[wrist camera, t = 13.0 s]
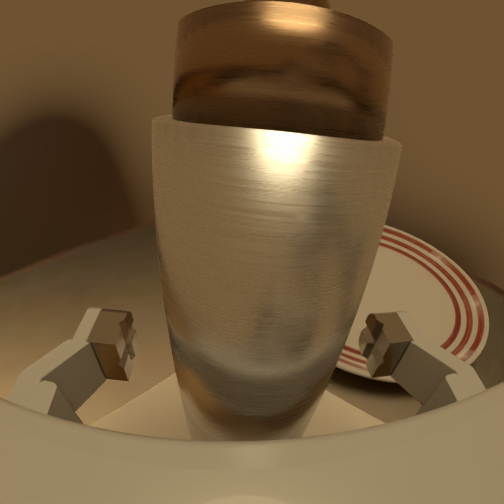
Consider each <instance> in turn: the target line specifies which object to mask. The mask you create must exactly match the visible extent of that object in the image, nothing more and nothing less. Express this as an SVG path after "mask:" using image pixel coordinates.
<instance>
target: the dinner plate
mask: <svg viewBox="0 0 504 504" xmlns="http://www.w3.org/2000/svg"><path fill="white" fill-rule="evenodd" d="M404 310H405V311H406V312H408V314H409V315H410V317H411V318H412V320H413V321H414V323H415V324H416V326H417V327H418V329H419V330H420V332H421V334H422V335H423V337H424V338H425V339H429V340H431V341H432V342H434V343H436V344H437V345H439V346H440V347H442V348H443V349H445V350H447V351H448V352H450V353H451V354H453V355H455V356H456V357H458V358H459V359H461V360H462V361H464V362H466V363H467V364H469V365H471V364H472V363H473V362H474V361H475V360H476V359H477V358H478V356H479V355H480V354H481V352H482V350H483V349H484V346H485V344H486V341H487V338H488V333H489V317H488V312H487V308H486V305H485V302H484V300H483V297H482V295H481V294H480V292H479V290H478V289H477V287H476V285H475V284H474V283H473V281H472V280H471V279H470V278H469V276H468V275H467V274H466V273H465V272H464V271H463V270H462V269H461V268H460V267H459V266H458V265H457V264H456V263H454V262H453V261H452V260H451V259H449V257H447V256H446V255H445V254H443V253H442V252H440V251H439V250H437V249H436V248H434V247H433V246H431V245H429V244H427V243H426V242H424V241H422V240H420V239H418V238H416V237H414V236H412V235H410V234H408V233H405V232H403V231H400V230H397V229H395V228H392V227H389V226H386V225H384V229H383V233H382V236H381V240H380V243H379V247H378V250H377V254H376V257H375V260H374V264H373V267H372V270H371V273H370V276H369V279H368V282H367V285H366V288H365V291H364V294H363V297H362V300H361V303H360V306H359V309H358V311H357V314H356V317H355V319H354V322H353V325H352V327H351V330H350V333H349V335H348V338H347V340H346V343H345V345H344V348H343V350H342V353H341V355H340V357H339V360H338V362H337V364H336V367H337V368H339V369H342V370H344V371H347V372H350V373H353V374H356V375H359V376H362V377H366V378H369V379H373V380H379V381H384V382H392V383H397V382H396V381H395V380H394V379H393V378H392V377H391V376H384V377H376V378H371V376H370V374H369V371H368V369H367V367H366V362H367V359H366V358H365V357H363V356H362V355H361V352H360V350H359V336H360V333H361V331H362V330H363V329H364V328H365V327H366V326H367V325H366V323H365V321H366V318H367V316H368V315H369V314H370V313H382V312H394V311H404Z"/></svg>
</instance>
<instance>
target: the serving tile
mask: <svg viewBox="0 0 504 504" xmlns="http://www.w3.org/2000/svg"><path fill="white" fill-rule="evenodd" d="M380 424H384V422H382V421H380V420H378V419H376V418H375V417H373V416H371V415H369V414H367V413H365V412H363V411H362V410H360V409H358V408H356V407H354V406H353V405H351V404H349V403H347V402H345V401H344V400H342V399H340V398H338V397H337V396H335V395H333V394H332V393H330V392H328V391H326V390H325V391H324V394H323V396H322V398H321V400H320V402H319V404H318V406H317V408H316V410H315V412H314V414H313V416H312V418H311V420H310V422H309V424H308V426H307V428H306V430H305V432H304V434H303V436H302V437H310V436H318V435H325V434H332V433H339V432H345V431H350V430H356V429H361V428H366V427H371V426H375V425H380ZM89 426H93V427H98V428H103V429H108V430H113V431H119V432H124V433H131V434H137V435H145V436H153V437H162V438H172V439H184V440H191V437H190V433H189V429H188V425H187V421H186V417H185V413H184V409H183V404H182V400H181V395H180V391H179V386H178V381H177V376H176V373H174V374H172V375H171V376H169V377H168V378H166V379H165V380H163V381H162V382H160V383H158V384H157V385H155V386H154V387H152V388H151V389H149V390H147V391H146V392H144V393H143V394H141V395H139V396H138V397H136V398H134V399H133V400H131V401H130V402H128V403H126V404H125V405H123V406H121V407H120V408H118V409H116V410H115V411H113V412H111V413H109V414H108V415H106V416H104V417H103V418H101V419H99V420H97V421H96V422H94V423H92V424H90V425H89Z"/></svg>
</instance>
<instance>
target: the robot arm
mask: <svg viewBox="0 0 504 504" xmlns="http://www.w3.org/2000/svg"><path fill="white" fill-rule="evenodd" d="M132 323H133V317H132V313H131V312H129V311H121V310H112V309H100V308H93V307H90V308H89V309H87V311H86V313H85V315H84V317H83V319H82V321H81V323H80V325H79V327H78V329H77V331H76V333H75V335H74V337H73V339H72V340H70V339H68V340H67V341H65V342H64V343H62V344H61V345H59V346H58V347H56V348H55V349H53V350H52V351H51V352H49V353H48V354H46V355H45V356H43V357H42V358H40V359H39V360H37V361H36V362H35V363H33V364H32V365H30V366H29V367H27V368H26V369H25V370H23V371H22V372H20V374H19V377H18V379H17V381H16V383H15V385H14V387H13V389H12V391H11V394H10V396H9V398H8V400H5V399H2V398H0V504H504V382H501V383H499V384H497V385H495V386H493V387H491V388H488V389H485V387H484V385H483V383H482V382H481V380H480V378H479V377H478V375H477V374H476V372H475V370H474V369H473V367H472V366H470V365H469V364H467V363H466V362H464V361H462V360H461V359H459V358H458V357H456V356H455V355H453V354H451V353H450V352H448V351H447V350H445V349H443V348H442V347H440V346H439V345H437V344H436V343H434V342H432V341H431V340H429V339H425V338H424V337H423V335H422V334H421V332H420V330H419V329H418V327H417V326H416V324H415V323H414V321H413V320H412V318H411V317H410V315H409V314H408V312H406V311H405V310H404V311H394V312H382V313H370V314H369V315H368V316H367V318H366V321H365V323H366V325H367V326H366V327H365V328H364V329H363V330H362V331H361V333H360V336H359V350H360V352H361V355H362V356H363V357H365V358H366V359H367V362H366V367H367V369H368V371H369V374H370V376H371V378H376V377H384V376H391V377H392V378H393V379H394V380H395V381H396V382H397V383H398V384H399V385H401V386H402V387H403V388H404V389H405V390H406V391H407V392H408V393H409V394H410V395H412V396H413V397H414V398H415V399H416V400H417V401H418V402H419V403H420V404H421V405H423V406H422V407H421V408H420V409H419V411H418V412H417V413H416V415H414V416H411V417H407V418H404V419H400V420H396V421H392V422H388V423H384V424H380V425H375V426H371V427H366V428H361V429H356V430H350V431H345V432H339V433H332V434H325V435H318V436H310V437H301V438H290V439H277V440H260V441H202V440H184V439H172V438H162V437H153V436H145V435H137V434H131V433H124V432H119V431H113V430H108V429H103V428H98V427H93V426H89V425H84V424H83V422H82V421H81V420H80V418H79V417H78V416H77V414H76V413H75V411H76V410H77V409H78V408H79V407H80V406H81V405H82V404H83V403H84V402H85V401H86V400H87V399H88V398H89V397H90V396H91V395H92V394H93V393H94V392H95V391H96V390H97V389H98V388H99V387H100V386H101V385H102V384H103V383H104V382H105V381H106V379H111V380H120V381H129V379H130V375H131V371H132V367H133V366H132V362H131V359H133V358H134V357H135V356H136V352H137V343H138V340H137V333H136V330H135V329H134V328H133V327H132Z"/></svg>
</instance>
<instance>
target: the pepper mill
mask: <svg viewBox="0 0 504 504" xmlns="http://www.w3.org/2000/svg"><path fill="white" fill-rule="evenodd" d="M392 58H393V43H392V41H391V39H390V38H389V37H388V36H387V35H386V34H385V33H383V32H382V31H380V30H379V29H377V28H376V27H374V26H372V25H370V24H368V23H366V22H364V21H362V20H360V19H357V18H355V17H352V16H350V15H347V14H344V13H340V12H337V11H333V10H331V7H330V3H329V0H245V2H234V3H226V4H220V5H215V6H211V7H207V8H203V9H200V10H197V11H195V12H192V13H190V14H188V15H186V16H185V17H183V18H182V19H181V20H180V21H179V22H178V28H177V39H176V53H175V66H174V84H173V111H172V112H173V114H171V115H165V116H159V117H156V118H153V119H152V167H153V168H152V169H153V191H154V209H155V223H156V236H157V247H158V257H159V266H160V275H161V283H162V291H163V299H164V306H165V313H166V320H167V326H168V332H169V338H170V344H171V350H172V355H173V361H174V366H175V371H176V376H177V381H178V386H179V391H180V395H181V400H182V404H183V409H184V413H185V417H186V421H187V425H188V429H189V433H190V437H191V440H202V441H260V440H277V439H290V438H301V437H302V436H303V434H304V432H305V430H306V428H307V426H308V424H309V422H310V420H311V418H312V416H313V414H314V412H315V410H316V408H317V406H318V404H319V402H320V400H321V398H322V396H323V394H324V391H325V389H326V387H327V385H328V383H329V380H330V378H331V376H332V374H333V371H334V369H335V367H336V364H337V362H338V360H339V357H340V355H341V353H342V350H343V348H344V345H345V343H346V340H347V338H348V335H349V333H350V330H351V327H352V325H353V322H354V319H355V317H356V314H357V311H358V309H359V306H360V303H361V300H362V297H363V294H364V291H365V288H366V285H367V282H368V279H369V276H370V273H371V270H372V267H373V264H374V260H375V257H376V254H377V250H378V247H379V243H380V240H381V236H382V233H383V229H384V225H385V221H386V217H387V214H388V210H389V205H390V201H391V197H392V193H393V188H394V184H395V179H396V175H397V170H398V165H399V160H400V154H401V149H402V144H401V143H399V142H397V141H395V140H393V139H391V138H388V137H386V136H384V129H385V122H386V114H387V108H388V98H389V91H390V82H391V71H392Z"/></svg>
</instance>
